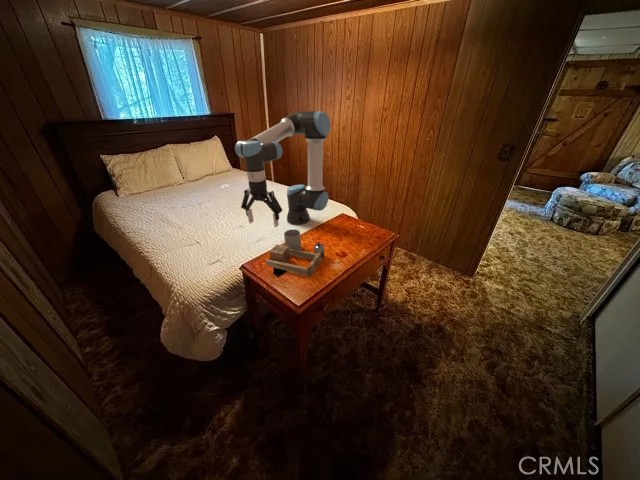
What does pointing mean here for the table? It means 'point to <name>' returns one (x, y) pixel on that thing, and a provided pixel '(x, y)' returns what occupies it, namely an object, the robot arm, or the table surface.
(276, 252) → the crate
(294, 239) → the cup
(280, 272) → the smartphone
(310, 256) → the bay
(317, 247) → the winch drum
